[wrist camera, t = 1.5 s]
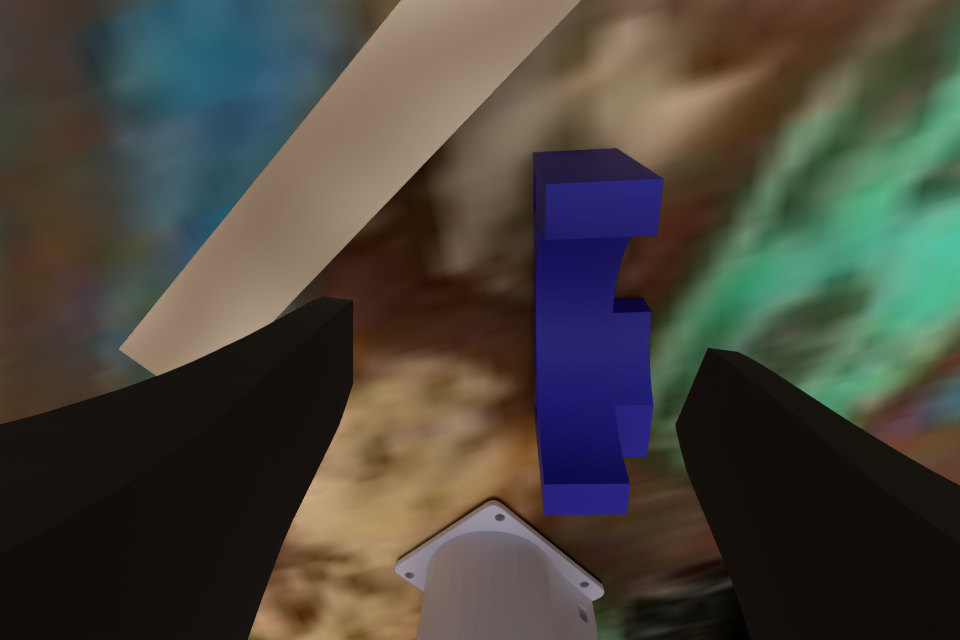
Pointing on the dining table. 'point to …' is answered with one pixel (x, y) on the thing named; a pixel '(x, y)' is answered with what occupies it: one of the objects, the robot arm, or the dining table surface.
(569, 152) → the blue half-round bracket
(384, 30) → the wall board
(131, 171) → the dining table surface
